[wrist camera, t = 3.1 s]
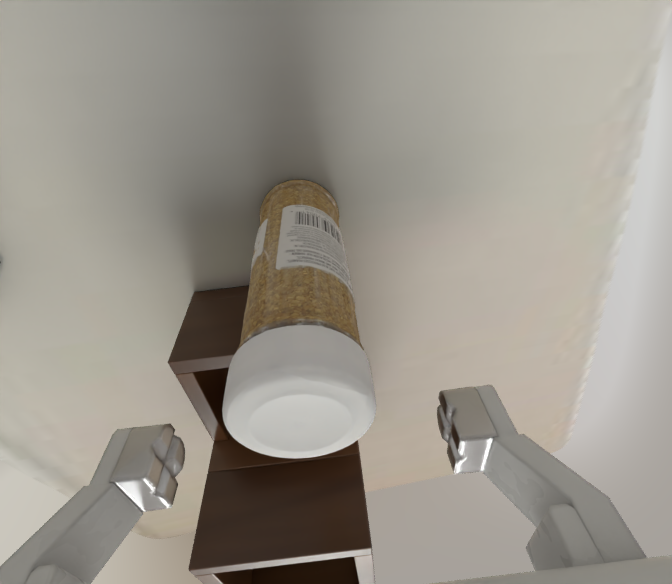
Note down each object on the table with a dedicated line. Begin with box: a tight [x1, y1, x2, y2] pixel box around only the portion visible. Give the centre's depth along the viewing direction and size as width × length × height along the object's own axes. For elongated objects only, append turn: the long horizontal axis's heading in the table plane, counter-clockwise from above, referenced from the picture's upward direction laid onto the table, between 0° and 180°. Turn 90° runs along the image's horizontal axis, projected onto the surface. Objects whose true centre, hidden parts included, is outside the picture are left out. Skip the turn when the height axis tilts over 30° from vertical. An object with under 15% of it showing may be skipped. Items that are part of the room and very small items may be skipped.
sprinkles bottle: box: [222, 180, 376, 458], centre depth 16 cm, size 5×5×13 cm
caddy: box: [168, 286, 375, 584], centre depth 24 cm, size 18×10×13 cm, turn 5°
